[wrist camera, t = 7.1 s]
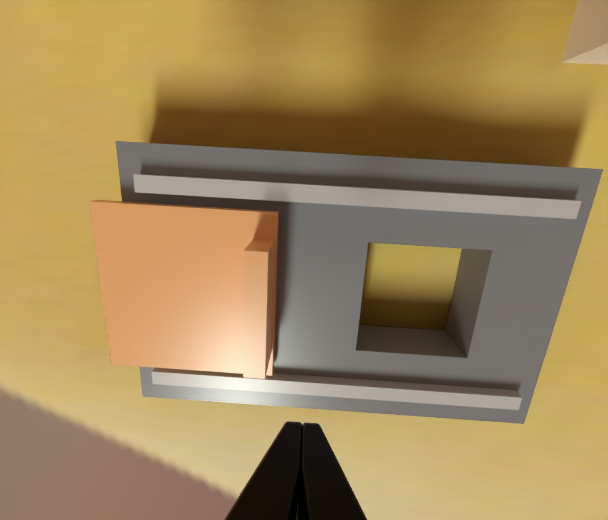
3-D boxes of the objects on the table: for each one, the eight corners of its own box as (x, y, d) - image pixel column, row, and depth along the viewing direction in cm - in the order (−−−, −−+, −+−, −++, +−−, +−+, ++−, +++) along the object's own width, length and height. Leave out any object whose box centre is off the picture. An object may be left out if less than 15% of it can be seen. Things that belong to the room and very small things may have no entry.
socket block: (554, 168, 17) (615, 169, 14) (495, 388, 21) (530, 432, 18) (148, 145, 17) (107, 140, 14) (165, 365, 21) (137, 403, 18)
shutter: (278, 211, 15) (271, 220, 12) (273, 368, 17) (266, 402, 15) (97, 200, 15) (54, 206, 13) (117, 357, 18) (85, 389, 15)
